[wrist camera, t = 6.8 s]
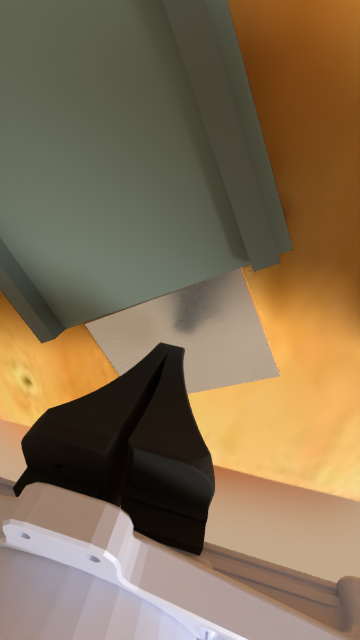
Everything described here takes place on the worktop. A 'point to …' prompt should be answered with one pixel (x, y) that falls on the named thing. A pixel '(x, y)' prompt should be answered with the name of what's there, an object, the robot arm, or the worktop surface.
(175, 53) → the case
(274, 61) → the worktop surface
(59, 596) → the robot arm
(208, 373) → the cover plate
